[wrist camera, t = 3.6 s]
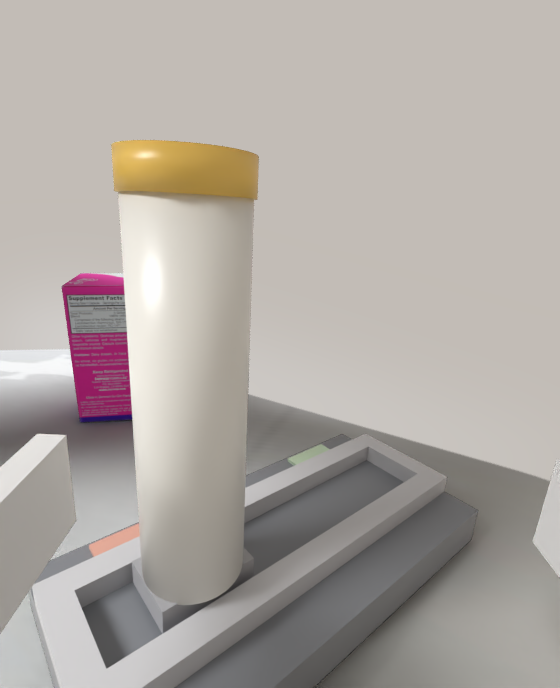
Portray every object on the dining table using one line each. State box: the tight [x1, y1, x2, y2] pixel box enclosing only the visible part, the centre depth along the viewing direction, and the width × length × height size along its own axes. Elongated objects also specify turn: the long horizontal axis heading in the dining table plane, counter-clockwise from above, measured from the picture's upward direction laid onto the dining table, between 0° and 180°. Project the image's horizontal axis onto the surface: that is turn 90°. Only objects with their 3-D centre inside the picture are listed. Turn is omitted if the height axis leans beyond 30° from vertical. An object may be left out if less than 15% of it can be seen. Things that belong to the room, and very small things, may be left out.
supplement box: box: [62, 273, 132, 422], centre depth 35 cm, size 6×6×12 cm
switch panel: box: [29, 433, 478, 688], centre depth 20 cm, size 20×10×3 cm, turn 130°
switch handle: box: [111, 140, 259, 634], centre depth 15 cm, size 4×4×16 cm
